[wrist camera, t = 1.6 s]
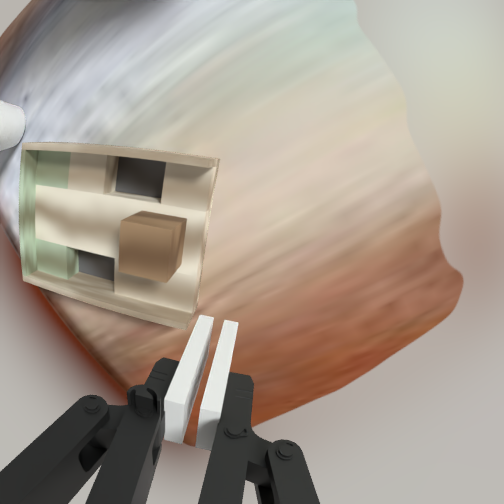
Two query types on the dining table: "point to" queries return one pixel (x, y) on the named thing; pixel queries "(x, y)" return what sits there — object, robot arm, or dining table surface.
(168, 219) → the block
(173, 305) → the box
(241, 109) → the dining table surface
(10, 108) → the cup
